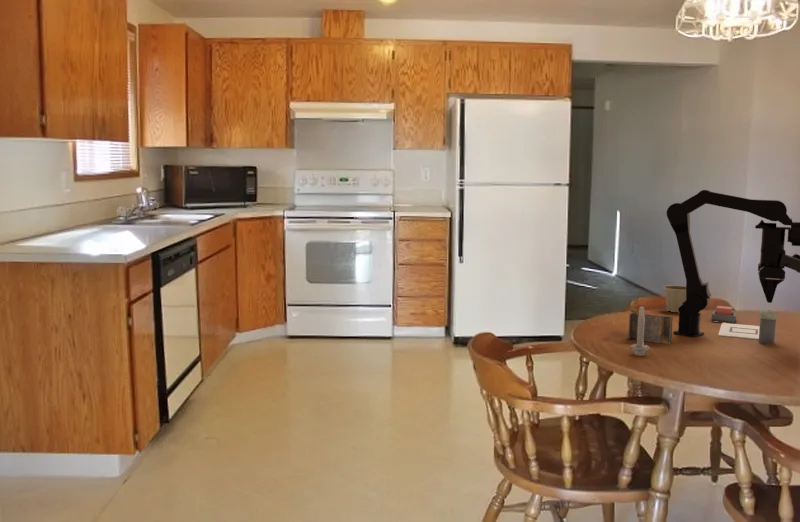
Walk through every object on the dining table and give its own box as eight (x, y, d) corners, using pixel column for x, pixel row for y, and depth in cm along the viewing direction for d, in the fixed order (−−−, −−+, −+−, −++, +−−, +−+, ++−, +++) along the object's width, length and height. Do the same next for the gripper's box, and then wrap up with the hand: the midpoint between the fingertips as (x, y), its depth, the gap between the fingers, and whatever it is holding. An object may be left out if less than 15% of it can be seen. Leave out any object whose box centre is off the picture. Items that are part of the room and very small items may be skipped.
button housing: (735, 324, 225) (735, 316, 225) (711, 321, 228) (711, 314, 228) (735, 320, 231) (736, 312, 231) (712, 318, 234) (713, 310, 234)
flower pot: (695, 314, 240) (696, 289, 239) (667, 314, 240) (668, 289, 239) (684, 309, 250) (686, 285, 249) (658, 309, 250) (659, 285, 249)
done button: (731, 316, 226) (731, 309, 226) (716, 314, 228) (716, 307, 228) (731, 313, 230) (732, 306, 230) (717, 312, 232) (717, 305, 232)
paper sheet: (767, 340, 202) (767, 339, 202) (718, 335, 208) (718, 334, 208) (767, 327, 219) (767, 326, 219) (721, 323, 225) (722, 322, 225)
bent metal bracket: (627, 340, 202) (629, 307, 201) (630, 338, 205) (631, 305, 204) (669, 345, 197) (671, 311, 195) (671, 343, 199) (673, 309, 198)
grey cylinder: (770, 345, 197) (772, 313, 195) (755, 342, 200) (757, 310, 199) (777, 342, 199) (779, 311, 198) (762, 340, 202) (764, 309, 201)
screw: (632, 356, 182) (628, 352, 187) (651, 357, 181) (647, 352, 186) (634, 307, 181) (630, 304, 185) (653, 307, 180) (649, 304, 185)
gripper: (808, 249, 185) (804, 307, 187) (803, 243, 202) (799, 297, 204) (761, 247, 190) (757, 304, 192) (759, 242, 207) (756, 294, 208)
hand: (768, 300), depth 199 cm, fingers open, 9 cm apart
